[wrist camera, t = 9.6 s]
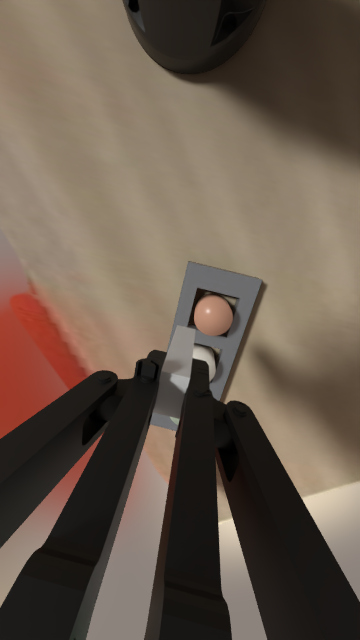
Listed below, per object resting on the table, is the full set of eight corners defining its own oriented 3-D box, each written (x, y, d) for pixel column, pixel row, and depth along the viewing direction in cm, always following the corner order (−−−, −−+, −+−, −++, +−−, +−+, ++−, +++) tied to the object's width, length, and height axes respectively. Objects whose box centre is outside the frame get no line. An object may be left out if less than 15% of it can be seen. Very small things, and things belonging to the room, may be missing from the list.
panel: (189, 261, 30) (188, 261, 28) (258, 278, 30) (262, 280, 28) (152, 415, 39) (149, 424, 37) (205, 429, 39) (205, 438, 37)
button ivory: (186, 338, 34) (184, 350, 30) (217, 346, 34) (219, 359, 30) (179, 366, 35) (176, 380, 32) (209, 373, 35) (210, 388, 31)
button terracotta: (199, 289, 31) (199, 295, 27) (233, 298, 31) (237, 304, 27) (191, 321, 33) (190, 330, 29) (223, 329, 33) (226, 339, 29)
